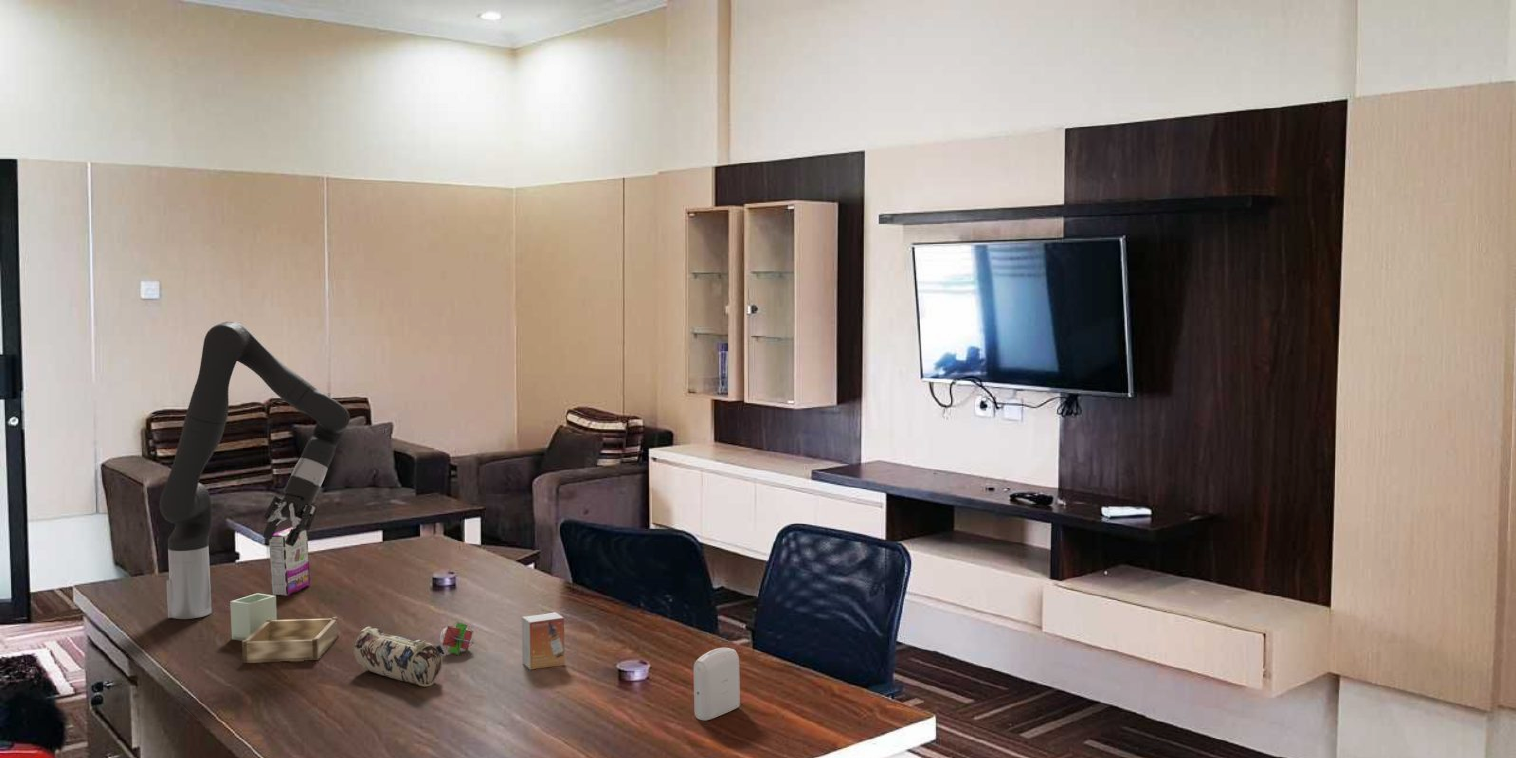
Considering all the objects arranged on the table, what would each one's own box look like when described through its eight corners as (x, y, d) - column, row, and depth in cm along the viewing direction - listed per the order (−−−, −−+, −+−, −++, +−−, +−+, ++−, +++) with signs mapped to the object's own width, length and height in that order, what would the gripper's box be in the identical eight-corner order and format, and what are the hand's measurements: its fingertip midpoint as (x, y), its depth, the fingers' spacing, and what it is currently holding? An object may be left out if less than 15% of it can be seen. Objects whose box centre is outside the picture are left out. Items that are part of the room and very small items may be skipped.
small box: (529, 670, 265) (528, 622, 264) (522, 663, 270) (520, 616, 269) (565, 665, 269) (564, 617, 268) (557, 658, 274) (556, 611, 273)
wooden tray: (242, 663, 272) (241, 641, 272) (268, 639, 290) (267, 619, 290) (317, 660, 273) (316, 639, 273) (338, 637, 291) (337, 616, 291)
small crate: (231, 639, 290) (230, 601, 290) (258, 630, 298) (257, 593, 297) (250, 642, 288) (248, 604, 287) (277, 633, 295) (275, 595, 294)
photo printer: (707, 722, 233) (706, 658, 232) (690, 717, 236) (689, 654, 235) (743, 708, 241) (742, 645, 240) (726, 703, 244) (726, 641, 243)
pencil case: (447, 681, 259) (446, 635, 258) (414, 692, 252) (412, 645, 251) (383, 662, 272) (382, 618, 271) (349, 672, 265) (348, 627, 264)
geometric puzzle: (470, 634, 285) (450, 611, 281) (486, 640, 280) (467, 617, 276) (448, 658, 281) (428, 635, 277) (464, 665, 276) (444, 641, 272)
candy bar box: (294, 585, 341) (291, 526, 340) (310, 586, 340) (308, 526, 339) (270, 595, 330) (267, 534, 329) (287, 596, 329) (284, 535, 328)
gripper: (276, 470, 307) (247, 531, 302) (314, 478, 299) (285, 542, 294) (298, 481, 313) (270, 541, 307) (336, 490, 305) (308, 552, 300)
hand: (277, 541), depth 301 cm, fingers open, 8 cm apart
